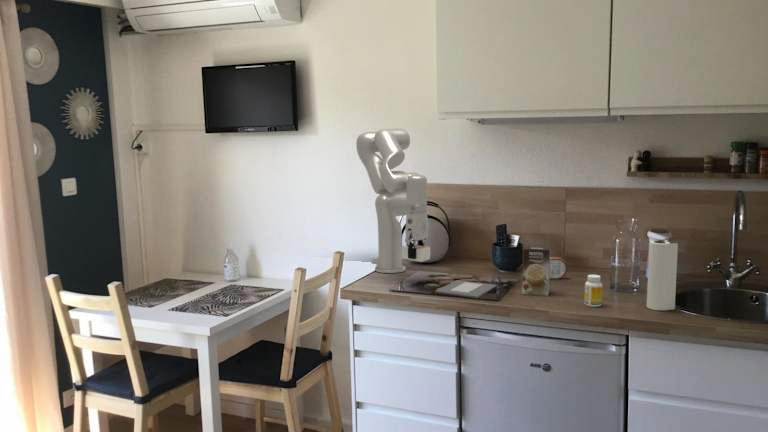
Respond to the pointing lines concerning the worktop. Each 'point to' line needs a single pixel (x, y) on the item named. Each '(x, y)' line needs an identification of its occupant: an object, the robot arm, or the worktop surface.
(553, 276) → the tin
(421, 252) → the card box
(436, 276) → the worktop surface
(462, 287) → the mat
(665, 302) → the paper towel roll
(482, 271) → the worktop surface
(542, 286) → the coffee box
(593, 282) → the supplement bottle
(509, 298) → the worktop surface
